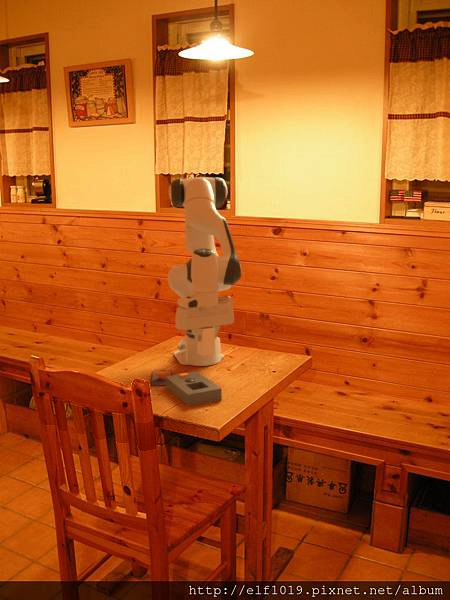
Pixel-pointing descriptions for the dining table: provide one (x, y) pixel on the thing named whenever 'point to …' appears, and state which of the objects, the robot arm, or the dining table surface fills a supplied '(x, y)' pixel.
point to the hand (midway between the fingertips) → (205, 339)
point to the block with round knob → (206, 341)
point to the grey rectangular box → (193, 388)
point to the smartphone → (159, 377)
